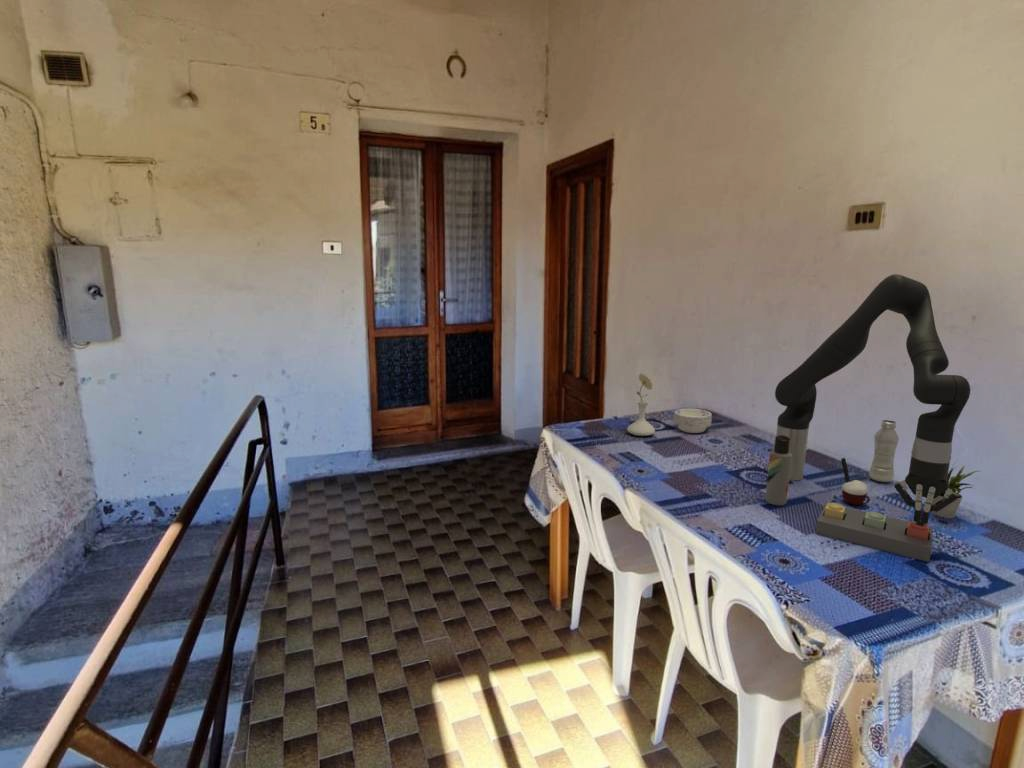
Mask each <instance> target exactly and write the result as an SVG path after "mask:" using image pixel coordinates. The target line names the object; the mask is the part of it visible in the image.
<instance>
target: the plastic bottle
mask: <svg viewBox="0 0 1024 768" xmlns="http://www.w3.org/2000/svg"><path fill="white" fill-rule="evenodd" d="M880 424H881V425H880V427H881V428H880V429H879V430H877V431H876V432H875V434H874V435H873V437H874V439H873V441H874V449H873V450H874V451H873V452H874V453H873V459H872V463H871V466H870V468H869V471H868V473H869V477H870V479H872V480H873V481H875V482H879V483H890V482H892V481H893V480H894V477H895V469H894V464H895V463H894V461H895V455H896V449H897V446H898V443H899V441H900V437H899V435H898V434H897V432H896V430H895V429H896V426H897V422H896V421H894V420H889V419H883V420H881V423H880Z"/></svg>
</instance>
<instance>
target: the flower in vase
mask: <svg viewBox="0 0 1024 768" xmlns="http://www.w3.org/2000/svg"><path fill="white" fill-rule="evenodd" d="M638 380H639V381H640V383H641V386H640V388H639V390H636V394H637V395H638V396H639V397H640V399H639V400H635V401H636V403H637V406H638V418H637V419H636V420H635V421H634V422H632V423H631V424H629V425H628V426H627V428H626V431H627V432H628V433H629V434H632V435H634V436H639V437H640V436H641V437H644V436H645V437H646V436H652V435H654V434H655V433H656V429H655V427H654V425H652V424H650V423H649V422H648V421H647V419H646V418H645V417H646V416H645V415H646V414H645V413H646V408H647V406H648V404H649V400H644V399H643V398H644V397H647V396H648V394H646V395H643V396H642V394H641V390H642V388H643V386H644V388H646V389H647V390H652V389H653V384H652V381H651V379H650V378H649V376H647V375H646V374H644V373H643V372H642V373H639V374H638Z"/></svg>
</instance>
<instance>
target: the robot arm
mask: <svg viewBox="0 0 1024 768" xmlns="http://www.w3.org/2000/svg"><path fill="white" fill-rule="evenodd" d="M932 305H933V304H932V299H931V295H930V291H929V289H928V286H926V285H925V284H924V283H923V282H921V281H918V280H915V279H913V278H910V277H907V276H904V275H902V274H896V273H895V274H890V275H889V276H887V277H885V278H884V279H883V280H882V281H880V282H879V284H877V285H876V286H875V288H874V289H873V290H872V291H871V292H870V293H869V294H868V296H867V297H866V298H865V299H864V300H863V302H861V304H860V305H859V306H858V308H857V309H856V310H855V311H854V312H853V313H852V314H851V315H850V316H849V317H848V318H847V320H845V321H844V322H843V323H842V324H841V325H840V326H838V328H837V329H836V330H835V331H833V332H832V334H830V335H829V336H828V337H827V339H826V340H824V341H823V342H822V343H821V344H820V346H818V348H817V349H815V351H813V353H811V354H810V355H809V356H808V357H807V358H806V360H804V361H803V362H802V363H801V364H800V365H799V366H798V367H797V368H796V369H794V370H793V371H792V372H791V373H789V374H788V375H787V376H785V377H784V378H783V379H782V380H780V381H779V382H778V384H777V385H776V388H775V392H774V397H775V400H776V402H778V403H779V405H781V406H784V407H786V408H785V410H784V411H782V413H781V414H779V415H778V417H777V424H776V434H775V435H776V436H775V437H777V436H779V435H783V436H787V437H788V438H790V445H789V453H791V454H792V459H791V468H790V477H789V481H790V482H791V481H792V482H793V481H795V482H796V481H801V480H803V478H804V473H805V461H806V455H807V446H808V445H807V444H808V436H809V429H810V423H811V421H812V419H813V417H814V412H815V408H816V401H817V387H816V385H817V383H819V382H821V381H822V380H824V379H826V378H827V377H829V376H831V375H834V374H835V373H837V372H839V371H840V370H842V369H843V368H845V367H847V366H848V364H851V362H853V360H854V359H856V358H857V357H858V356H859V355H860V354H862V352H863V351H864V350H865V348H866V346H867V343H868V340H869V335H870V330H871V327H872V325H873V324H874V322H875V321H876V320H877V319H878V318H879V317H880V316H881V315H882V314H883V313H885V312H886V311H887V310H888V311H890V312H894V313H896V314H900V315H903V317H904V318H905V319H906V321H907V323H908V324H909V329H910V331H909V332H908V335H907V337H906V343H905V347H906V352H907V354H908V357H909V359H910V361H911V364H912V367H913V368H912V369H913V391H912V392H913V394H914V397H915V399H916V400H918V401H919V402H920V403H922V404H924V405H939V408H938V409H937V410H935V411H930V412H924V413H921V414H920V415H919V417H918V419H917V425H916V432H915V438H914V440H913V443H912V450H911V452H910V453H911V456H910V462H909V469H908V474H907V475H906V476H905V477H904V478H905V479H903V480H901V481H896V482H895V483H894V488H895V491H897V493H898V495H900V497H901V498H902V500H903V502H905V505H907V506H908V507H912V508H913V509H914V514H913V521H914V522H917V523H916V524H917V525H921V526H924V524H926V525H928V523H929V517H930V513H932V511H935V512H938V511H940V510H941V509H943V508H944V507H946V506H947V505H949V504H950V503H952V502H953V501H955V500H957V491H956V492H953V491H951V490H950V489H949V488H948V487H949V485H948V483H947V477H948V473H949V472H950V464H951V459H952V450H953V444H952V443H953V438H954V432H955V426H956V423H957V422H958V419H959V417H960V415H961V414H962V412H963V410H964V408H965V406H966V405H967V403H968V401H969V399H970V395H971V385H970V383H969V381H968V379H967V378H965V377H964V376H962V375H958V374H957V375H956V374H941V373H943V372H944V371H946V370H947V369H948V367H949V364H950V362H949V357H948V356H947V354H946V351H945V349H944V346H943V344H942V342H941V339H940V338H939V337H940V336H939V333H938V331H937V327H936V321H935V316H934V310H933V306H932ZM773 450H774V447H773V448H772V451H773ZM907 487H908V488H909V490H910V492H912V494H913V495H915V500H913V498H912V497H911V495H910V494H909V493H908V491H907ZM944 492H946V493H945V494H944V498H943V499H941V500H940V501H938V502H937V503H935V504H933V505H931V504H932V501H933V499H934V498H937V497H938V496H939V495H941V494H942V493H944ZM923 498H925V501H924V504H923V503H922V502H923ZM922 504H923V508H922Z"/></svg>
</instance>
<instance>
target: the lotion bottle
mask: <svg viewBox="0 0 1024 768" xmlns="http://www.w3.org/2000/svg"><path fill="white" fill-rule="evenodd" d="M773 445H774V446H773V448H774V450H773V449H772V450H771V451H770V452H769V461H768V462H769V463H768V471H767V479H766V480H767V481H766V489H765V490H766V491H765V502H766V503H768V504H770V505H772V506H773V505H774V506H779V507H780V506H785V505H786V504H787V501H788V492H789V484H790V480H789V477H790V468H791V459H792V454H791V453H789V445H790V438H788V437H787V436H783V435H779V436H777V437H776V436H775V438H774V444H773Z"/></svg>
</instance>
